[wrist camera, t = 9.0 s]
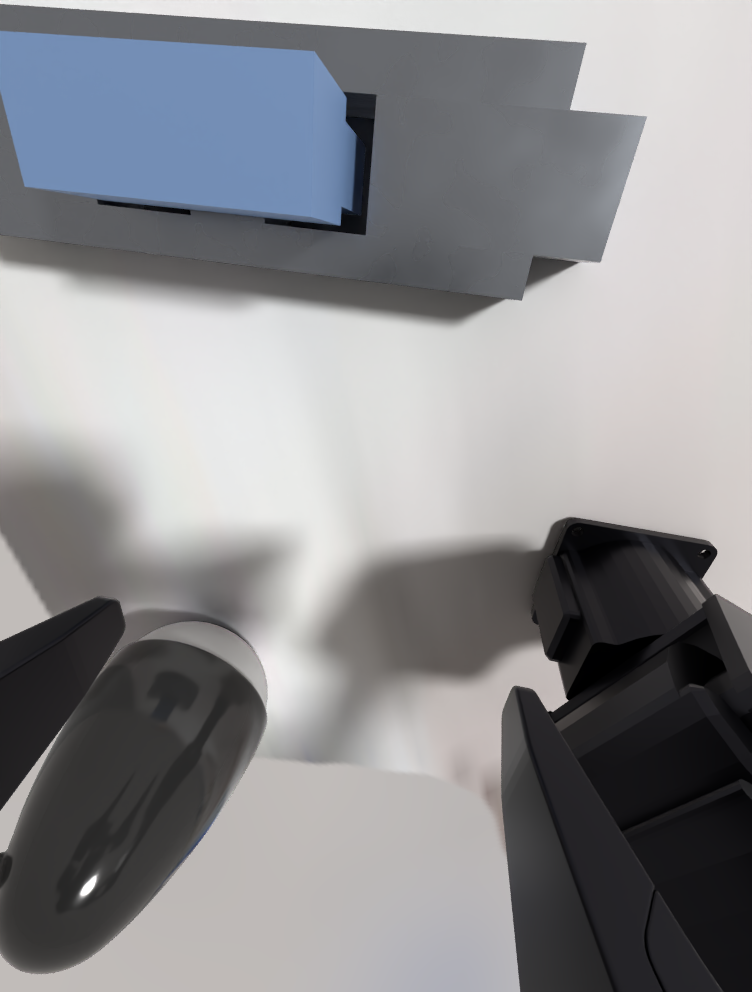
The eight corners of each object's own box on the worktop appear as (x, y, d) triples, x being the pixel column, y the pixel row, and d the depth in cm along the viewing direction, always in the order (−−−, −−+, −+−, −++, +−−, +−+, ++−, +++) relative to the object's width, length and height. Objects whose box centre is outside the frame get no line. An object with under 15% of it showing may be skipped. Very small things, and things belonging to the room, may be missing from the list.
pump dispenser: (150, 571, 26) (-152, 874, 13) (305, 633, 27) (157, 990, 14) (139, 667, 32) (-87, 954, 19) (269, 718, 32) (137, 1036, 19)
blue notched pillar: (367, 127, 14) (314, 50, 9) (360, 231, 16) (311, 216, 11) (147, 109, 15) (-16, 29, 10) (160, 210, 17) (24, 186, 11)
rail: (633, 84, 13) (668, 48, 11) (568, 302, 16) (585, 308, 14) (-68, 32, 15) (-156, -7, 13) (-9, 229, 18) (-73, 225, 16)
